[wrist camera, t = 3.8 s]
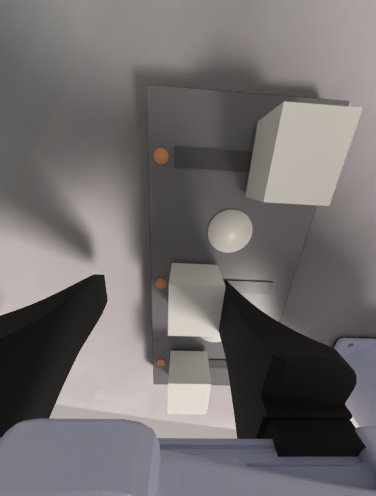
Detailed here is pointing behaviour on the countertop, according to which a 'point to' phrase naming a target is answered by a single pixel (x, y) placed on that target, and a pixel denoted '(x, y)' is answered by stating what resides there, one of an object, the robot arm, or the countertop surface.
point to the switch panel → (215, 209)
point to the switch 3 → (300, 153)
